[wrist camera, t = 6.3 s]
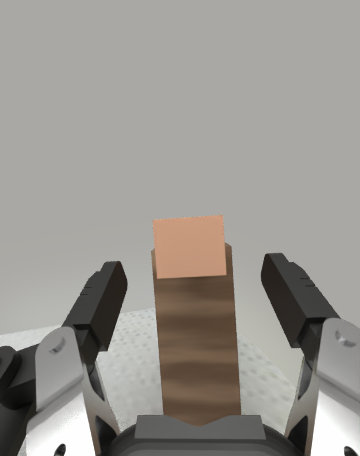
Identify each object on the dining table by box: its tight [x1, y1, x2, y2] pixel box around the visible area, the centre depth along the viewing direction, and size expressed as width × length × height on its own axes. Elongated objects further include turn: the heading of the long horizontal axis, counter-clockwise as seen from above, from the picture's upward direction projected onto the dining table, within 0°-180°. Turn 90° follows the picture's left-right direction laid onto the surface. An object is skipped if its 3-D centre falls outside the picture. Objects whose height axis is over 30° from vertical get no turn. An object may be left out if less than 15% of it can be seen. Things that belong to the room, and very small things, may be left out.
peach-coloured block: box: [153, 215, 226, 279], centre depth 21 cm, size 24×4×3 cm, turn 177°
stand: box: [151, 243, 241, 427], centre depth 27 cm, size 16×8×32 cm, turn 177°
